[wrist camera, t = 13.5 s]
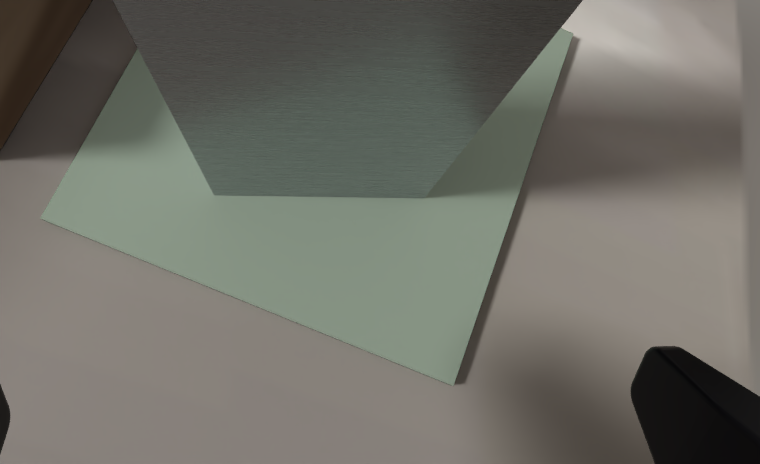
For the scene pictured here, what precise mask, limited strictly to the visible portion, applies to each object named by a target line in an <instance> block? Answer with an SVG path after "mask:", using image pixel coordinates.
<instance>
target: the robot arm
mask: <svg viewBox="0 0 760 464" xmlns="http://www.w3.org/2000/svg"><path fill="white" fill-rule="evenodd" d="M631 398H632V402H633V405H634V408H635V411H636V413H637V416H638V419H639V422H640V424H641V427H642V430H643V432H644V435H645V438H646V441H647V443H648V446H649V449H650V452H651V454H652V457H653V460H654V462H655V464H760V396H758V395H756V394H755V393H753V392H751V391H750V390H748V389H747V388H745V387H743V386H742V385H740V384H739V383H737V382H735V381H734V380H732V379H730V378H729V377H727V376H726V375H724V374H722V373H721V372H719V371H718V370H716V369H714V368H713V367H711V366H709V365H708V364H706V363H705V362H703V361H701V360H700V359H698V358H697V357H695V356H693V355H692V354H690V353H688V352H687V351H685V350H684V349H682V348H680V347H676V346H658V347H651V348H650V349H649V350H647V351H646V353H645V355H644V357H643V360H642V362H641V364H640V366H639V369H638V371H637V373H636V375H635V378H634V380H633V382H632V385H631ZM9 423H10V409H9V405H8V403H7V400H6V398H5V395H4V393H3V390H2V387H1V385H0V453H1V450H2V447H3V444H4V441H5V438H6V434H7V431H8V428H9Z"/></svg>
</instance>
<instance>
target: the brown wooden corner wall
mask: <svg viewBox="0 0 760 464" xmlns="http://www.w3.org/2000/svg"><path fill="white" fill-rule="evenodd" d="M91 1H92V0H0V150H1V148H2V146H3V145H4V143H5V142H6V140H7V138H8V137H9V135H10V133H11V132H12V130H13V128H14V127H15V125H16V124H17V122H18V120H19V119H20V117H21V115H22V114H23V112H24V111H25V109H26V107H27V106H28V104H29V102H30V101H31V99H32V98H33V96H34V94H35V93H36V91H37V89H38V88H39V86H40V84H41V83H42V81H43V80H44V78H45V76H46V75H47V73H48V71H49V70H50V68H51V67H52V65H53V63H54V62H55V60H56V58H57V57H58V55H59V54H60V52H61V50H62V49H63V47H64V45H65V44H66V42H67V40H68V39H69V37H70V36H71V34H72V32H73V31H74V29H75V27H76V26H77V24H78V23H79V21H80V19H81V18H82V16H83V14H84V13H85V11H86V10H87V8H88V6H89V5H90V3H91Z"/></svg>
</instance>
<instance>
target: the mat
mask: <svg viewBox="0 0 760 464" xmlns="http://www.w3.org/2000/svg"><path fill="white" fill-rule="evenodd" d="M572 36H573V33H571V32H568V31H566V30H564V29H562V28H560V29H559V30H558V32H557V33H556V34H555V35H554V37H553V38H552V39H551V40H550V42H549V43H548V44H547V45H546V47H545V48H544V49H543V50H542V52H541V53H540V54H539V55H538V57H537V58H536V59H535V60H534V62H533V63H532V64H531V65H530V67H529V68H528V69H527V70H526V72H525V73H524V74H523V75H522V77H521V78H520V79H519V80H518V82H517V83H516V84H515V85H514V87H513V88H512V89H511V90H510V92H509V93H508V94H507V95H506V97H505V98H504V99H503V100H502V102H501V103H500V104H499V105H498V107H497V108H496V109H495V110H494V112H493V113H492V114H491V115H490V117H489V118H488V119H487V120H486V122H485V123H484V124H483V125H482V127H481V128H480V129H479V130H478V132H477V133H476V134H475V135H474V137H473V138H472V139H471V140H470V142H469V143H468V144H467V145H466V147H465V148H464V149H463V150H462V152H461V153H460V154H459V155H458V157H457V158H456V159H455V160H454V162H453V163H452V164H451V165H450V167H449V168H448V169H447V170H446V172H445V173H444V174H443V175H442V177H441V178H440V179H439V180H438V182H437V183H436V184H435V185H434V187H433V188H432V189H431V190H430V192H429V193H428V194H427V195H426V197H425V198H362V197H293V196H223V195H214V194H213V192H212V190H211V189H210V187H209V185H208V183H207V181H206V179H205V177H204V175H203V173H202V171H201V169H200V167H199V165H198V164H197V162H196V160H195V158H194V156H193V154H192V152H191V150H190V148H189V146H188V144H187V142H186V140H185V139H184V137H183V135H182V133H181V131H180V129H179V127H178V125H177V123H176V121H175V119H174V117H173V115H172V114H171V112H170V110H169V108H168V106H167V104H166V102H165V100H164V98H163V96H162V94H161V92H160V90H159V89H158V87H157V85H156V83H155V81H154V79H153V77H152V75H151V73H150V71H149V69H148V67H147V65H146V63H145V62H144V60H143V58H142V56H141V54H140V52H139V50H138V48H137V50H136V52H135V54H134V55H133V57H132V59H131V61H130V62H129V64H128V66H127V68H126V69H125V71H124V73H123V75H122V76H121V78H120V80H119V82H118V83H117V85H116V87H115V89H114V90H113V92H112V94H111V96H110V97H109V99H108V101H107V103H106V104H105V106H104V108H103V110H102V111H101V113H100V115H99V117H98V118H97V120H96V122H95V124H94V125H93V127H92V129H91V130H90V132H89V134H88V136H87V137H86V139H85V141H84V143H83V144H82V146H81V148H80V150H79V151H78V153H77V155H76V157H75V158H74V160H73V162H72V164H71V165H70V167H69V169H68V171H67V172H66V174H65V176H64V178H63V179H62V181H61V183H60V185H59V186H58V188H57V190H56V192H55V193H54V195H53V197H52V199H51V200H50V202H49V204H48V206H47V207H46V209H45V211H44V213H43V214H42V216H41V219H43V220H44V221H47V222H49V223H52V224H54V225H57V226H59V227H61V228H64V229H66V230H69V231H71V232H74V233H76V234H79V235H81V236H84V237H86V238H89V239H91V240H94V241H96V242H98V243H101V244H103V245H106V246H108V247H111V248H113V249H116V250H118V251H121V252H123V253H126V254H128V255H131V256H133V257H136V258H138V259H140V260H143V261H145V262H148V263H150V264H153V265H155V266H158V267H160V268H163V269H165V270H168V271H170V272H173V273H175V274H177V275H180V276H182V277H185V278H187V279H190V280H192V281H195V282H197V283H200V284H202V285H205V286H207V287H210V288H212V289H214V290H217V291H219V292H222V293H224V294H227V295H229V296H232V297H234V298H237V299H239V300H242V301H244V302H247V303H249V304H251V305H254V306H256V307H259V308H261V309H264V310H266V311H269V312H271V313H274V314H276V315H279V316H281V317H284V318H286V319H288V320H291V321H293V322H296V323H298V324H301V325H303V326H306V327H308V328H311V329H313V330H316V331H318V332H321V333H323V334H325V335H328V336H330V337H333V338H335V339H338V340H340V341H343V342H345V343H348V344H350V345H353V346H355V347H358V348H360V349H362V350H365V351H367V352H370V353H372V354H375V355H377V356H380V357H382V358H385V359H387V360H390V361H392V362H395V363H397V364H399V365H402V366H404V367H407V368H409V369H412V370H414V371H417V372H419V373H422V374H424V375H427V376H429V377H432V378H434V379H437V380H439V381H441V382H444V383H446V384H449V385H452V386H454V383H455V380H456V377H457V374H458V371H459V368H460V365H461V362H462V359H463V356H464V353H465V351H466V348H467V345H468V342H469V339H470V336H471V333H472V330H473V327H474V324H475V321H476V318H477V315H478V312H479V309H480V306H481V304H482V301H483V298H484V295H485V292H486V289H487V286H488V283H489V280H490V277H491V274H492V271H493V268H494V265H495V262H496V259H497V257H498V254H499V251H500V248H501V245H502V242H503V239H504V236H505V233H506V230H507V227H508V224H509V221H510V218H511V215H512V212H513V210H514V207H515V204H516V201H517V198H518V195H519V192H520V189H521V186H522V183H523V180H524V177H525V174H526V171H527V168H528V165H529V162H530V160H531V157H532V154H533V151H534V148H535V145H536V142H537V139H538V136H539V133H540V130H541V127H542V124H543V121H544V118H545V115H546V113H547V110H548V107H549V104H550V101H551V98H552V95H553V92H554V89H555V86H556V83H557V80H558V77H559V74H560V71H561V68H562V66H563V63H564V60H565V57H566V54H567V51H568V48H569V45H570V42H571V39H572Z"/></svg>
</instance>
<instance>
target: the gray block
mask: <svg viewBox="0 0 760 464" xmlns="http://www.w3.org/2000/svg"><path fill="white" fill-rule="evenodd" d="M582 1H583V0H113V2H114V4H115V6H116V8H117V10H118V12H119V13H120V15H121V17H122V19H123V21H124V23H125V25H126V27H127V29H128V31H129V33H130V35H131V37H132V38H133V40H134V42H135V44H136V46H137V48H138V50H139V52H140V54H141V56H142V58H143V60H144V62H145V63H146V65H147V67H148V69H149V71H150V73H151V75H152V77H153V79H154V81H155V83H156V85H157V87H158V89H159V90H160V92H161V94H162V96H163V98H164V100H165V102H166V104H167V106H168V108H169V110H170V112H171V114H172V115H173V117H174V119H175V121H176V123H177V125H178V127H179V129H180V131H181V133H182V135H183V137H184V139H185V140H186V142H187V144H188V146H189V148H190V150H191V152H192V154H193V156H194V158H195V160H196V162H197V164H198V165H199V167H200V169H201V171H202V173H203V175H204V177H205V179H206V181H207V183H208V185H209V187H210V189H211V190H212V192H213V194H214V195H223V196H293V197H362V198H425V197H426V195H427V194H428V193H429V192H430V190H431V189H432V188H433V187H434V185H435V184H436V183H437V182H438V180H439V179H440V178H441V177H442V175H443V174H444V173H445V172H446V170H447V169H448V168H449V167H450V165H451V164H452V163H453V162H454V160H455V159H456V158H457V157H458V155H459V154H460V153H461V152H462V150H463V149H464V148H465V147H466V145H467V144H468V143H469V142H470V140H471V139H472V138H473V137H474V135H475V134H476V133H477V132H478V130H479V129H480V128H481V127H482V125H483V124H484V123H485V122H486V120H487V119H488V118H489V117H490V115H491V114H492V113H493V112H494V110H495V109H496V108H497V107H498V105H499V104H500V103H501V102H502V100H503V99H504V98H505V97H506V95H507V94H508V93H509V92H510V90H511V89H512V88H513V87H514V85H515V84H516V83H517V82H518V80H519V79H520V78H521V77H522V75H523V74H524V73H525V72H526V70H527V69H528V68H529V67H530V65H531V64H532V63H533V62H534V60H535V59H536V58H537V57H538V55H539V54H540V53H541V52H542V50H543V49H544V48H545V47H546V45H547V44H548V43H549V42H550V40H551V39H552V38H553V37H554V35H555V34H556V33H557V32H558V30H559V29H560V28H561V27H562V25H563V24H564V23H565V22H566V20H567V19H568V18H569V17H570V15H571V14H572V13H573V12H574V10H575V9H576V8H577V7H578V5H579V4H580V3H581V2H582Z"/></svg>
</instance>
